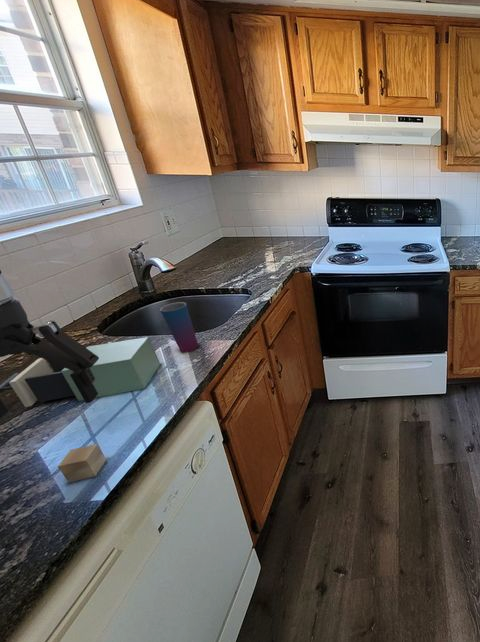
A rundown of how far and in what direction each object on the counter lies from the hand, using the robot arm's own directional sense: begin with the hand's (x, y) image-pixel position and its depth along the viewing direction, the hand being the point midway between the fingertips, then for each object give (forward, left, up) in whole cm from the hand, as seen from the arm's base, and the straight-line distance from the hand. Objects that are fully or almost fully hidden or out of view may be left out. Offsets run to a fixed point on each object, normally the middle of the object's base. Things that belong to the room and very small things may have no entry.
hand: (48, 407), depth 68 cm
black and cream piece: (-21, +35, -16) cm, 44 cm away
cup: (+6, +49, -17) cm, 52 cm away
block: (0, 0, -17) cm, 17 cm away
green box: (-7, +35, -17) cm, 39 cm away
